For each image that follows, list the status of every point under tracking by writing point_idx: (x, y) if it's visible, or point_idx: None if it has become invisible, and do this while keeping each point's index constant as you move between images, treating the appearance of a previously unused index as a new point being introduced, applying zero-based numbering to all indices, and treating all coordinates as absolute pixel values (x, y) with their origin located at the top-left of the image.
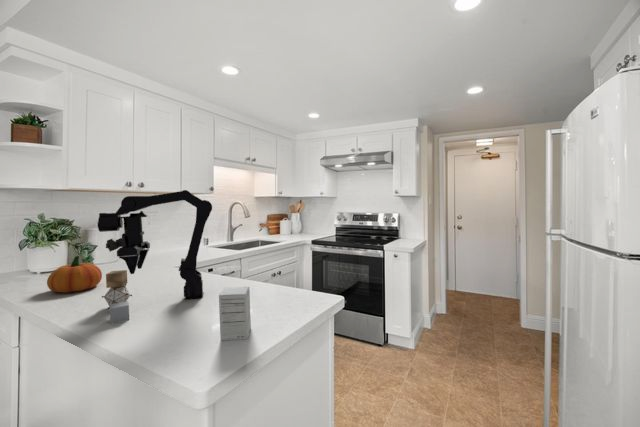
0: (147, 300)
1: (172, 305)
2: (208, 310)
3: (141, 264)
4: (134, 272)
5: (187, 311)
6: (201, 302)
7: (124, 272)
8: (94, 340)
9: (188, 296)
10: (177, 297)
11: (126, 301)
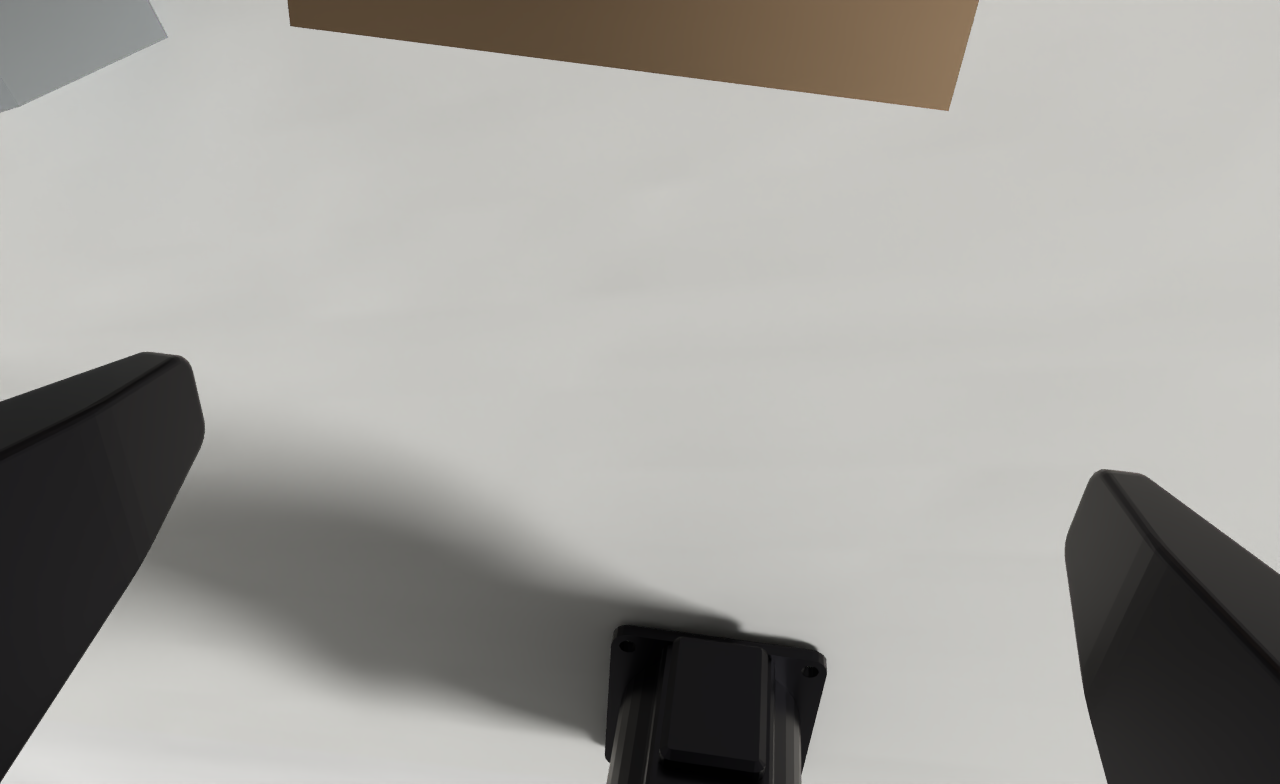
0: (877, 207)
1: (450, 510)
2: (194, 738)
3: (1097, 688)
4: (170, 469)
5: (199, 615)
6: (454, 725)
7: (623, 55)
8: None
9: (648, 675)
10: (790, 560)
11: (4, 93)
